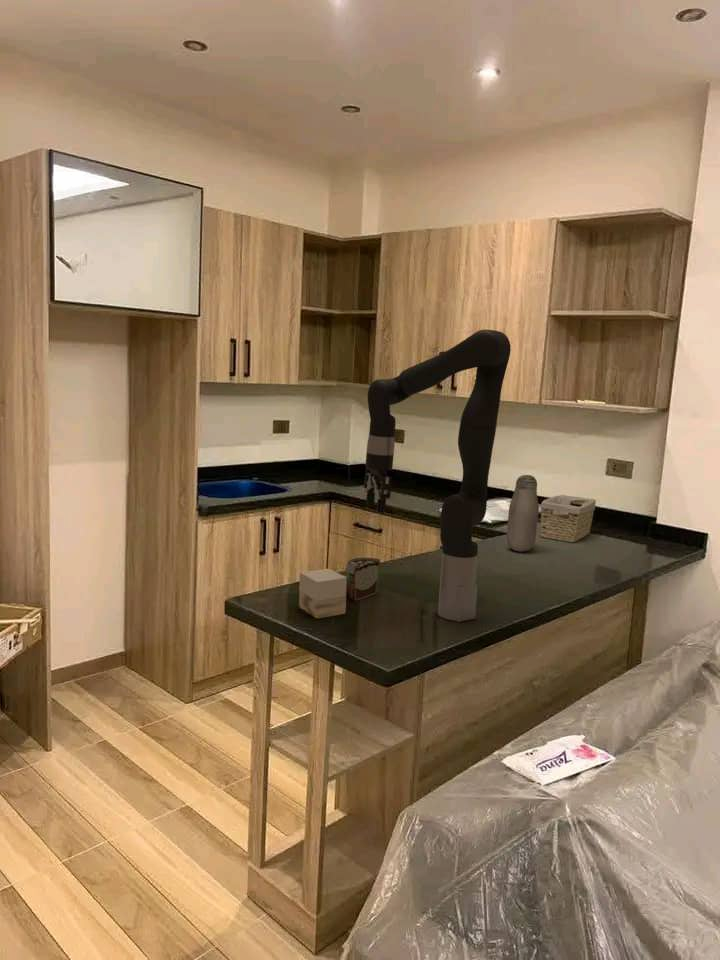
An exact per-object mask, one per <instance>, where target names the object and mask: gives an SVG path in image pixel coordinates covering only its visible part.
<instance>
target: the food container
mask: <svg viewBox="0 0 720 960" xmlns="http://www.w3.org/2000/svg"><path fill="white" fill-rule="evenodd" d="M381 565H382V564H381V559H379V558H376V557H375V558H374V557H355V558H351V559H349V560H348V561H347V563H346V565H345V566H346V567H345V571H346V572H347V580H348V581H347V582H348V584H347V585H348V586H347V587H348V598H349V599H351V600H352V601H355V602H356V601H359V600H363V599H364V598H367V597H370V596H373V595H376V594H377V591H378V590H377V587H378V581H379V580H378V579H379V573H380V567H381Z"/></svg>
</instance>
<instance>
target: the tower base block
mask: <svg viewBox="0 0 720 960" xmlns="http://www.w3.org/2000/svg"><path fill="white" fill-rule="evenodd" d="M298 595H299V597H298V600H299V601H298V608H299V607H300V608H301V609H303V610H305V611H306V612H308V613H309V614H311V615H312V616H313V618H314V617H315V618H314V619H316V618H318V619H323V618H327V617H328V618H329V617H333V616H334V617H335V616H338V615H339V616H340V615H345V614H346V611H347V609H346V607H347V595H346V596H343V597H337V598H331V599H325V600H318V601H316V600H314V599H313V598H311V597H309V596H307V595H306V594H304V593H302V592H301V591H299V594H298ZM300 608H299V609H300ZM301 609H300V610H301ZM303 610H302V611H303ZM306 612H305V613H306ZM308 613H307V614H308ZM309 614H308V615H309ZM311 615H310V616H311ZM312 616H311V617H312Z"/></svg>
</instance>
